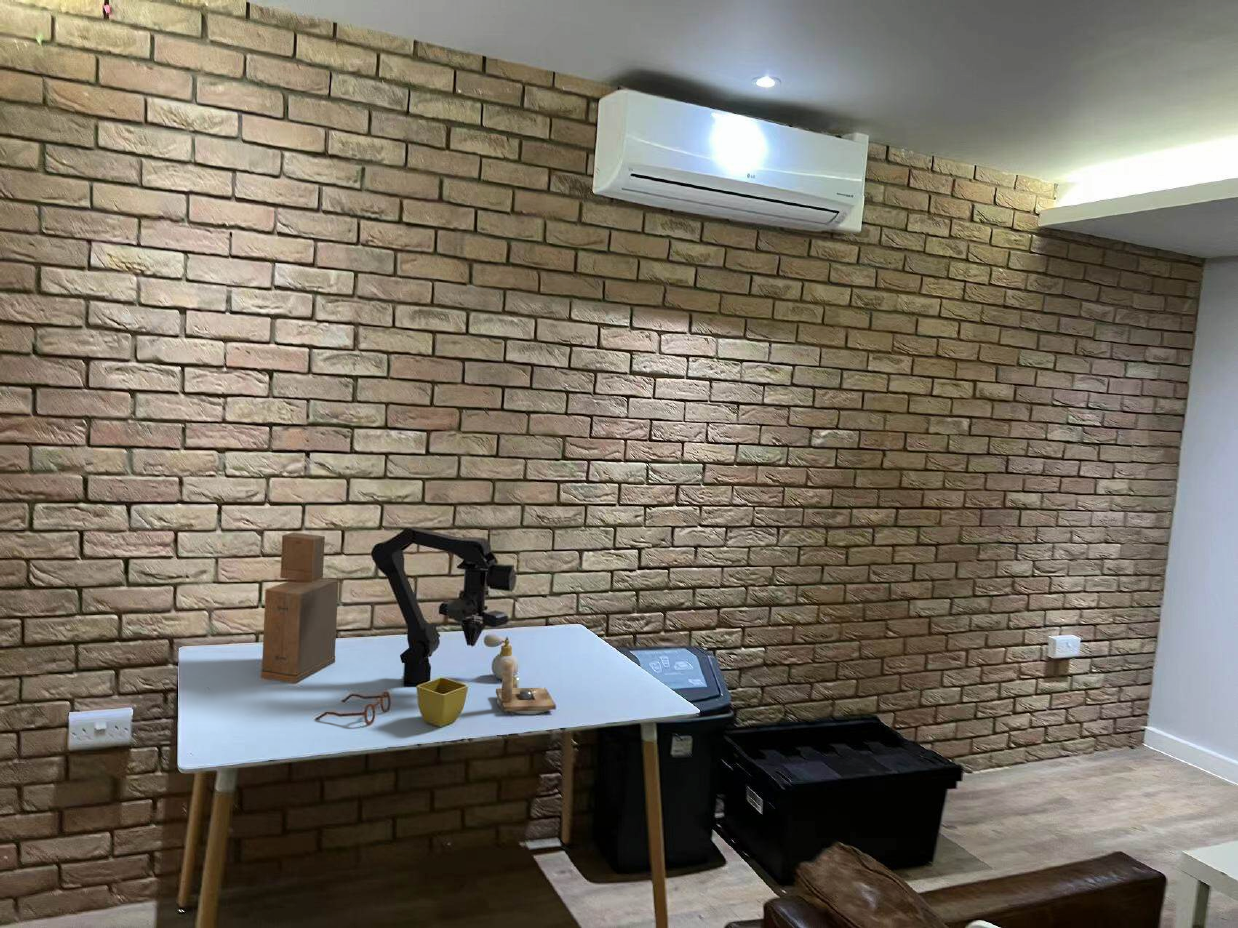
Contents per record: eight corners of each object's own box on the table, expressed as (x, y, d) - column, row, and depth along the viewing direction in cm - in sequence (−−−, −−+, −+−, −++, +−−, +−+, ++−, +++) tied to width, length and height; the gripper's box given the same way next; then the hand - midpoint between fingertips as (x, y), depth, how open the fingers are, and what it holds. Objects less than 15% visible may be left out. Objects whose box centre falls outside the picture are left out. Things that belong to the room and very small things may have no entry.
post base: (501, 716, 216) (502, 700, 216) (491, 691, 233) (492, 677, 232) (557, 714, 220) (559, 698, 220) (543, 690, 237) (545, 676, 236)
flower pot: (440, 732, 204) (443, 694, 203) (413, 722, 208) (415, 685, 207) (466, 722, 211) (469, 685, 210) (439, 712, 216) (441, 676, 215)
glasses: (367, 729, 203) (368, 708, 203) (314, 721, 206) (315, 700, 205) (391, 709, 216) (392, 689, 216) (341, 702, 218) (342, 682, 218)
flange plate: (503, 710, 217) (506, 666, 216) (495, 692, 229) (498, 650, 228) (555, 709, 221) (559, 666, 220) (545, 691, 233) (548, 650, 232)
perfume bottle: (521, 681, 242) (524, 638, 241) (486, 684, 238) (489, 640, 237) (513, 673, 249) (516, 631, 248) (479, 674, 245) (482, 632, 244)
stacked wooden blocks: (288, 655, 249) (294, 532, 246) (335, 662, 246) (341, 537, 243) (247, 675, 230) (252, 542, 227) (296, 683, 228) (303, 548, 225)
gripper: (426, 585, 227) (422, 644, 229) (483, 598, 218) (479, 660, 220) (454, 578, 237) (450, 636, 238) (510, 591, 228) (506, 650, 229)
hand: (470, 645), depth 231 cm, fingers closed
